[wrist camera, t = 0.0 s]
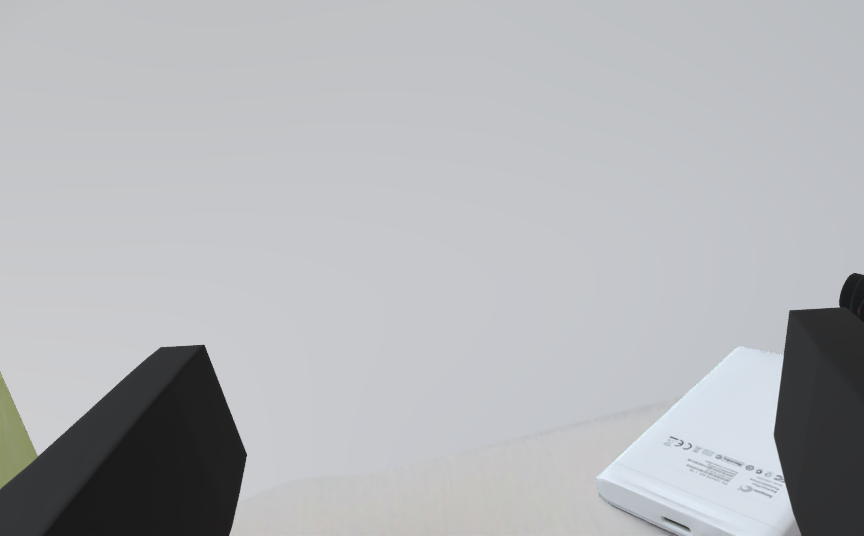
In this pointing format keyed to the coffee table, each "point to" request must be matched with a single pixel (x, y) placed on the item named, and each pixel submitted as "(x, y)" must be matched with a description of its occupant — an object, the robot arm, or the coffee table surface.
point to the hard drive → (711, 457)
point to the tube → (12, 439)
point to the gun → (853, 295)
